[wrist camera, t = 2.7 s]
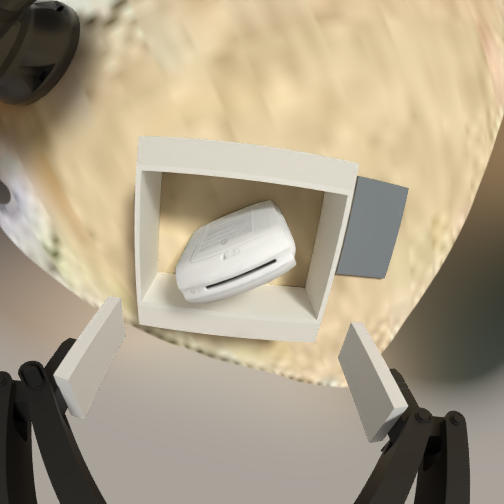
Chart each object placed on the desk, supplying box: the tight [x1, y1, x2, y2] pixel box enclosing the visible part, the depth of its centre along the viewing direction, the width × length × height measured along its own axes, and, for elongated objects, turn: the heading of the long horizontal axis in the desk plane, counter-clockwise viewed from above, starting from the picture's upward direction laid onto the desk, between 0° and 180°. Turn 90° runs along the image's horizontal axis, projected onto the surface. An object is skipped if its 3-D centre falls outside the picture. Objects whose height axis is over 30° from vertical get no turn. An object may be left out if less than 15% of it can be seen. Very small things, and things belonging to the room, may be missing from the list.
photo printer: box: [175, 200, 296, 303], centre depth 27 cm, size 10×4×12 cm, turn 112°
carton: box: [135, 136, 359, 342], centre depth 29 cm, size 19×19×7 cm
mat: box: [336, 176, 409, 278], centre depth 33 cm, size 7×12×1 cm, turn 173°
